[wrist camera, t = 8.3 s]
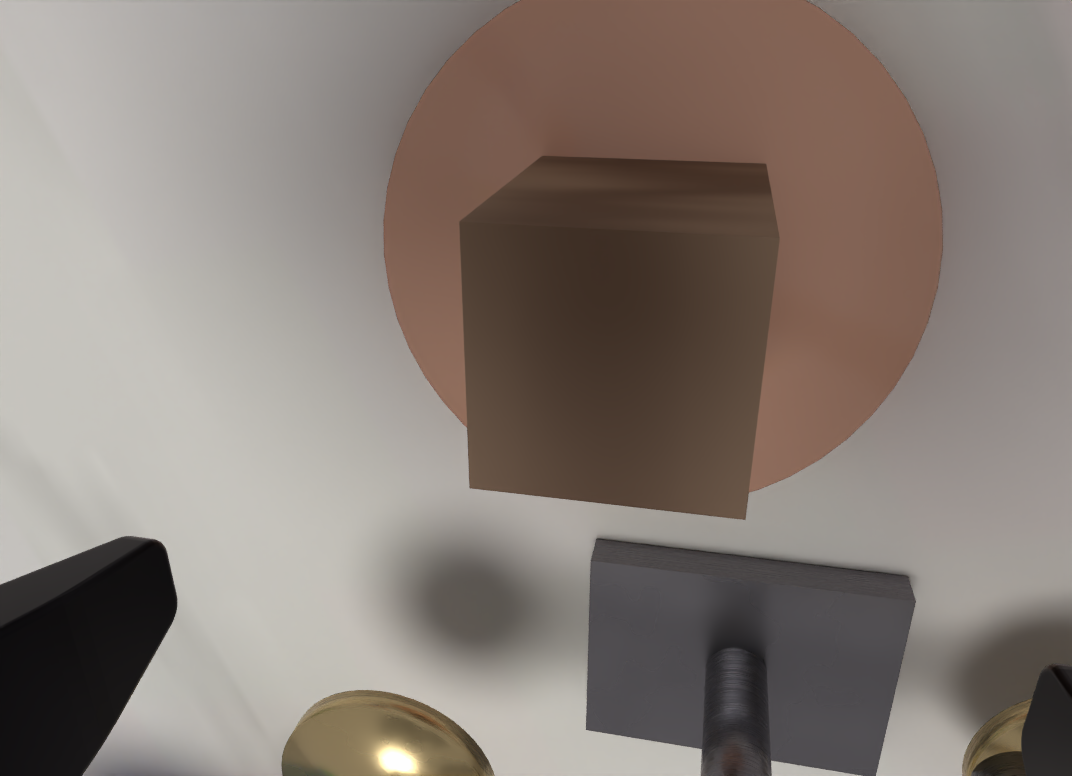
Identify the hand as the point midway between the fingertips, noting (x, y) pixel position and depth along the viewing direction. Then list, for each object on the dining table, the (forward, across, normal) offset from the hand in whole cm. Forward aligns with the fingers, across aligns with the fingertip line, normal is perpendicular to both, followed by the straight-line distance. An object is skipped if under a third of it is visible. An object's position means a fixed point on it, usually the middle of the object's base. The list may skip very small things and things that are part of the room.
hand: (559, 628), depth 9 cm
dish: (+12, 0, 0) cm, 12 cm away
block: (+11, 0, -1) cm, 11 cm away
